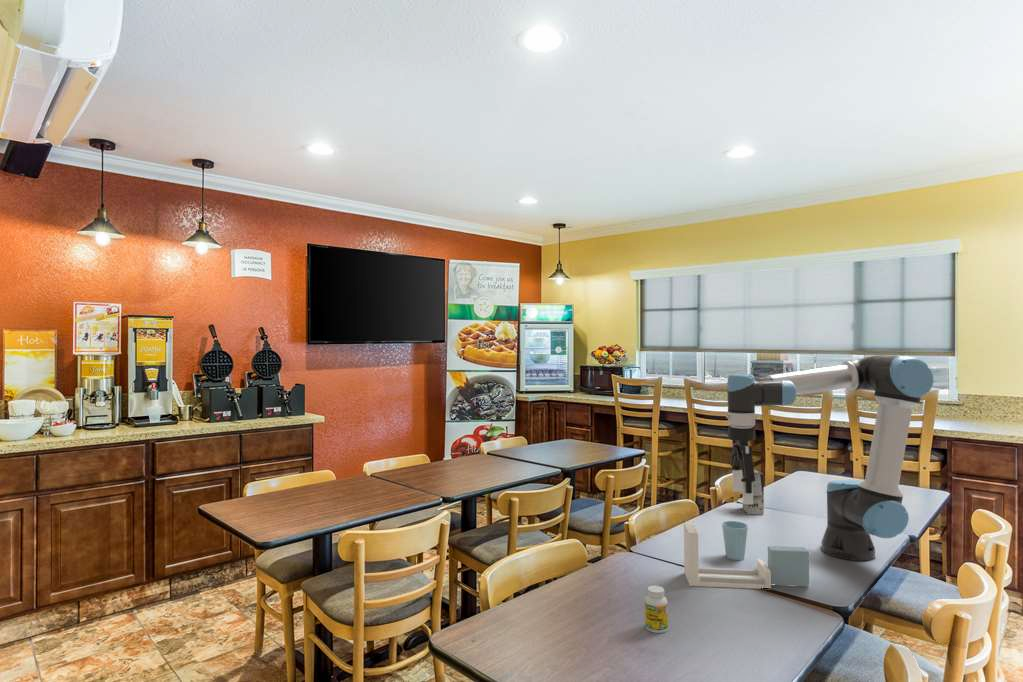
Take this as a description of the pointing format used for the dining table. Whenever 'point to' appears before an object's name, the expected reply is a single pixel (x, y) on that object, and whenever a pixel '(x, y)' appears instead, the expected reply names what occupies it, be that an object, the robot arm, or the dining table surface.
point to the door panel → (788, 565)
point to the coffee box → (756, 495)
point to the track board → (720, 569)
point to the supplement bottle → (656, 610)
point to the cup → (735, 539)
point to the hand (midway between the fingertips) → (742, 497)
